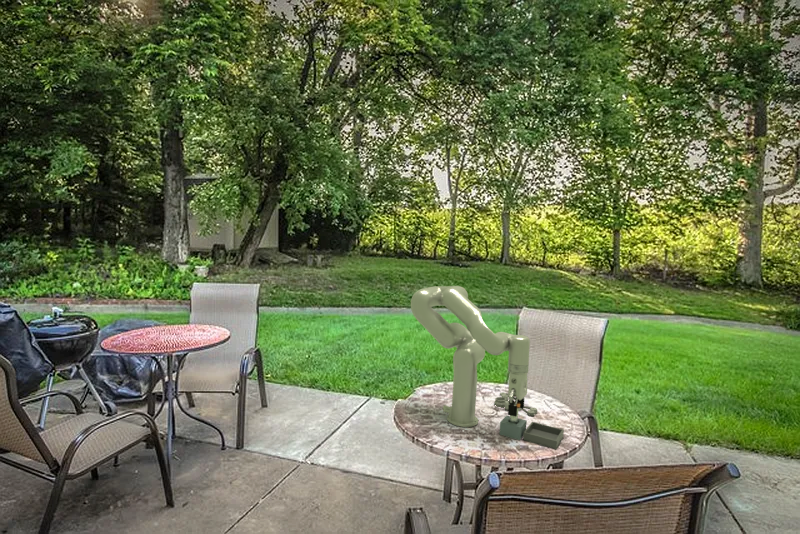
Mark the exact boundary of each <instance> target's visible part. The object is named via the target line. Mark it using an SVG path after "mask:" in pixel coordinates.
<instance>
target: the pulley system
mask: <svg viewBox="0 0 800 534" xmlns="http://www.w3.org/2000/svg"><path fill="white" fill-rule="evenodd" d="M494 399H495V400H494V403H493V404H494V405H493V406H495V405H496V406H497V408H499V407H501V408H500V409H505V410H508V403H509V402H508V400H509V397H508V393H507V392H499V396H497V397H495V398H494ZM496 406H495V407H496ZM504 407H505V408H504ZM526 409H527V410H526ZM520 411H523V412H524V413H525V414H527V415H528V416H531V417H533V416H535V415H536V413H538V408H537V407H531V406H525V405H524V408H519V410H518V412H520Z"/></svg>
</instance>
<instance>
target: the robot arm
mask: <svg viewBox="0 0 800 534" xmlns="http://www.w3.org/2000/svg"><path fill="white" fill-rule="evenodd" d="M437 306H438V307H441V306H444V307H446V309H448V310H449V311H450V312H451V313H452V314H454V316H455V317H456V318H457V319H458V320H460V322H462V324H461V323H459V322H448V321H447V320H446V319H445V318H444V317H443V316H442V315H441V314H440V313H439V312H437V311H436V310H434V308H435V307H437ZM433 307H434V308H433ZM410 309H411V314H412V315H413V317H414V318H415V319H416V321H417V322H418V323H419V324H420V325H422V326H423V328H424V329H426V331H427V332H428V333H429V334H430V335H431V336H432V338H434V340H436V341H437V343H438V344H439V345H441V347H443V348H445V349H453V348H456V349H455V351H454V353H453V359H452V363H453V381H452V382H453V383H452V385H453V386H452V399H451V406H448V405H445V404H444V405H443V406H442V411H443V413H447V414H448V415H447V416H446V420H447V422H448V423H450V424H451V425H454V426H457V427H462V428H463V427H464V428H471V427H475V426H477V425H478V424H479V418H478V417H477V416H476V415H475V414H476V404H477V403H476V402H477V401H476V400H477V387H478V370H477V369H478V368H477V365H478V364H480V363H481V362H482V361H483V360H484V358H485V356H486V353H488V354H490V355H493V356H499V355H501V354H503V353H505V352H508V361H507V365H508V366H507V372H509V377H508V378H509V379H508V389H507V390H508V391H507V392H508V400H509V401H508V402H509V403H508V409H507V414H508V415H507V416H510V415H511V416H515V417H516V416H517V406H516V404H517V402H519V403H520V408H523V409H525V408H524V406H525V397H526V396H527V393H528V374H529V365H530V364H529V363H530V343H531V341H530V338H529V337H528V336H526V335H522V334H512V333H509V332H505V331H497V332H496V333H494V332H493V330H492V329H490V328H489V327H488V326H487V324H486V323H485V321H484V320H483V317H482V316H483V315H482V311H481V309H480V308H479V307H477V305H475V303H473V302H472V301H471V300H470V299H469V294H468V291H467V290H466V288H464V287H462V286H460V285H449V286H444V285H442V286H441V285H440V286H434V285H433V286H428V287H423V288H420V289H418V290H417V291H415V292H414V293H413V295H412V297H411V300H410ZM514 401H515V402H514Z"/></svg>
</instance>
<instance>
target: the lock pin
mask: <svg viewBox="0 0 800 534" xmlns="http://www.w3.org/2000/svg"><path fill="white" fill-rule="evenodd" d="M514 402H515V400H514ZM516 406H517V416H516V417H515V416H511V415H509V416H510V422H511V423H515V424H517V423H518V418H519V411H518V410H519V408H520V403H519V402H517V404H516Z"/></svg>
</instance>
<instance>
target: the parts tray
mask: <svg viewBox="0 0 800 534" xmlns="http://www.w3.org/2000/svg"><path fill="white" fill-rule="evenodd" d="M564 431H565V430H564V429H563V428H558V427H555V426H551V425H546V424H542V423H540V422H539V423H538V422H536V421H531V422H530V423H529V425H528V426H526V430H525V431H524V433H523V437H522V441H525V442H529V443H532V444H536V445H539V446H543V447H546V448H550V449H554V450H557V449H558V448H559V446H560V443H561V442H562V440H563V439H564V433H565V432H564Z"/></svg>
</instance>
